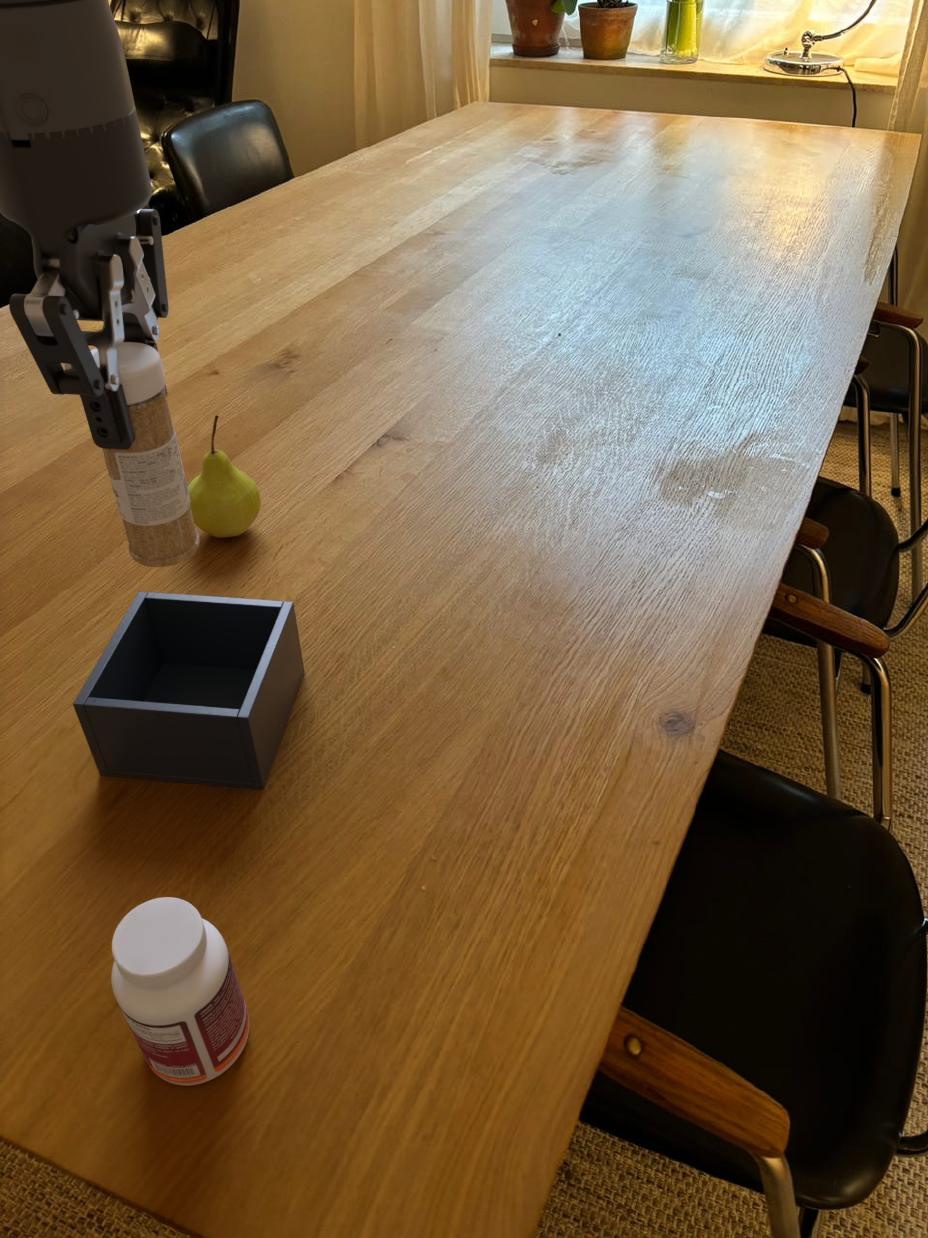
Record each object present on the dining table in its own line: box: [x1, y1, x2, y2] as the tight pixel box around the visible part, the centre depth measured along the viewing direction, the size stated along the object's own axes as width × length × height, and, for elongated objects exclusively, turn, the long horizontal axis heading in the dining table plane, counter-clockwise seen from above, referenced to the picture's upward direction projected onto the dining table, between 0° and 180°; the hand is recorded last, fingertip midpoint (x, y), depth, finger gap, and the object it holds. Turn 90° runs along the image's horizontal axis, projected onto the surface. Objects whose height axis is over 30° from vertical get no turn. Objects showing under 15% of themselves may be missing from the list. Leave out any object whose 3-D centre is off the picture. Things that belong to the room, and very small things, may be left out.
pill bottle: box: [110, 896, 250, 1086], centre depth 55 cm, size 6×6×11 cm
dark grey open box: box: [72, 590, 305, 790], centre depth 76 cm, size 13×13×8 cm
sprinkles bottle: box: [90, 342, 201, 568], centre depth 60 cm, size 5×5×14 cm
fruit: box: [187, 415, 262, 538], centre depth 94 cm, size 7×7×12 cm
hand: (132, 421), depth 58 cm, fingers closed on sprinkles bottle, 4 cm apart
